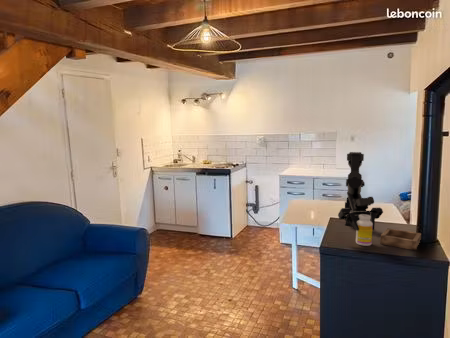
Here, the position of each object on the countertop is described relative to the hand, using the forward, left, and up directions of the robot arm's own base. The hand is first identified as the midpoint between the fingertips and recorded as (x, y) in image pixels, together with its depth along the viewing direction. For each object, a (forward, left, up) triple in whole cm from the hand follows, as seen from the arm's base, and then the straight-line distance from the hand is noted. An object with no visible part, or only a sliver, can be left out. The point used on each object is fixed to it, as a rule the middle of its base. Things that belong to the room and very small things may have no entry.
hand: (365, 230), depth 153 cm
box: (+12, +12, -7) cm, 18 cm away
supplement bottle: (-1, +1, -7) cm, 7 cm away
